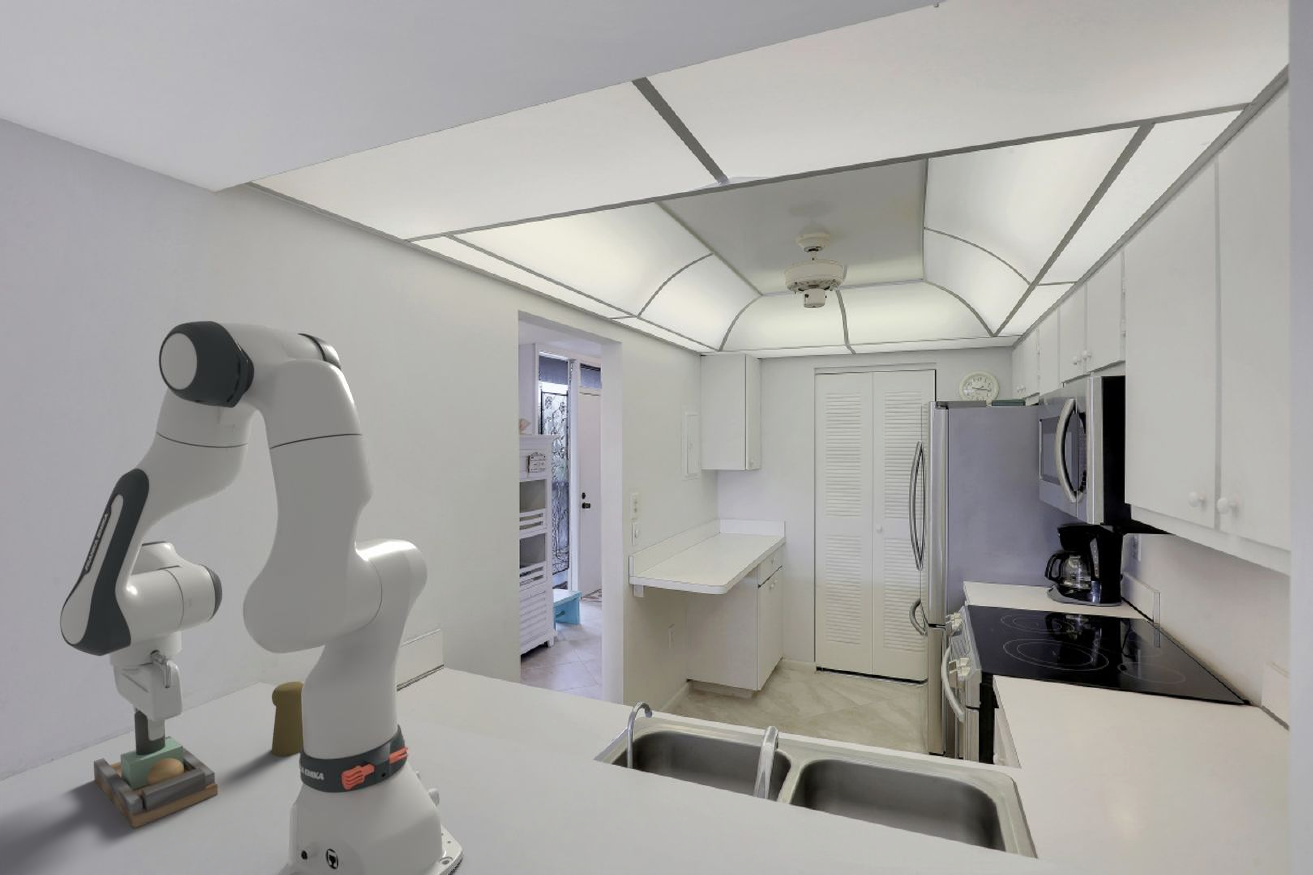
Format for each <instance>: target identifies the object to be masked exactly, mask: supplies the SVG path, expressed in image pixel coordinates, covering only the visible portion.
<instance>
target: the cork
mask: <svg viewBox="0 0 1313 875" xmlns="http://www.w3.org/2000/svg"><path fill="white" fill-rule="evenodd" d="M303 685H304V682H301V681H289V682H285V683H282V684H280V685H278V686H277V687H275V688H274V689H273V690H272V694H271V702H272V705H274V706H275V713H274V721H273V722H274V724H273V732H272V742H271V743H272V744H271V755H272V756H276V757H286V756H292V755H295V754H298V753H299V754H300V750H301V747H302V746H303V722H302V700H301V693H302V688H303Z"/></svg>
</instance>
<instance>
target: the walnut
mask: <svg viewBox="0 0 1313 875" xmlns="http://www.w3.org/2000/svg"><path fill="white" fill-rule="evenodd" d="M183 773H184V767H183V765H182V763H181V762H180V761H179V760H177V759H173V758H167V759H163V760H161V761H159V762H157V763H156V764H155V765H154V766H153V767H152V768H151V769H150V771H149V772H148V775H147V784H148V786H152V785H155V784H157V783H160V782H162V781H165V780H168V779H170V778H173V777H176V776H178V775H181V774H183Z"/></svg>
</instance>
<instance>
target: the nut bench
mask: <svg viewBox="0 0 1313 875" xmlns="http://www.w3.org/2000/svg"><path fill="white" fill-rule="evenodd" d="M169 738H173V737H171V735H169V736H168V735H167V736H165V740H166V739H169ZM183 764H184V773H183V774H181V775H178V776H176V777H173V778H170V779H168V780H165V781H162V782H160V783H157V784H155V785H152V786H148V785H145V786H142V787H140V788H137V789H134V790H132V789H131V788H130V787H129V785H128V784H127V783H126V782H125V781H124V780H123V779H122V778H121V761H118V762H115V763H112V764H109V762H108V761H107V760H106V759H105V758H99V759H96V760H93V776H94V781H95V782H96V783H97V785H98V786H99V787H100V789H102V791H103V792H104V793H105V795H106V796H107V797H108V798H109V799H110V800H111V801H112V803H113V804H114V805H115V806H116V808H117V809H118V810H119V811H120V812H121V814H122V815H123V816H124V818H125V819H126V820H127V821H128V823H129V824H130V825H131V826H132V827H133V829H137V828H139V827H141V826H145V825H146V824H149V823H150V822H154V821H156V820H158V819H161V818H163V817H165V816H168V815H171V814H172V813H176V812H178V811H180V810H182V809H185V808H188V807H190V806H192V805H195V804H197V803H199V802H202V801H205V800H207V799H210V798H212V797H214V796H216V795H219V794H218V793H219V791H218V790H219V788H218V783H217V782H216V776H215V775H216V773H215V771H213V770H212V769H211V768H209V767H208V766H207V765H206V764H205V763H204V762H202V761H201V760H200V759H198V758H197V756H195V755H194V754H192V753H191V751H189V750H188V749H187V748H186V747H184V746H183Z"/></svg>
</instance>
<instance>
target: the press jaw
mask: <svg viewBox="0 0 1313 875" xmlns="http://www.w3.org/2000/svg"><path fill="white" fill-rule="evenodd" d="M133 715H134V717H133V718H134V737H135V749H134V750H131V751H128V752H125V753H121V754H120V762H121V778H122V779H123V780H124V781H125V782H126V783H127V784H128V785H129V787H130V788H131V789H132V790H134V789H137V788H140V787H142V786H145V785H148V784H147V775H148V772H149V771H150V769H151V768H152V767H153V766H154V765H155V764H156V763H157V762H159V761H161V760H163V759H167V758H173V759H177V760H179V761H180V762H181V763H182V765H183V767H184V764H183V747H184V746H183V745H182V744H181V743H180V742H179V741H177V740H176V739H175V738H174V737H172V738H169V739H166V740H165V737H166V732H165V731H166V729H165V727H166V726H165V724H164V735H163V737H161V738H159V739H156V740H153V741H152V740H150V739H149V738H148V737H147V727H148V719H147V716H146V715H145V714H144V713H142V712H141V711H138V712H136V713H135V712H134V714H133Z"/></svg>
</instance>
